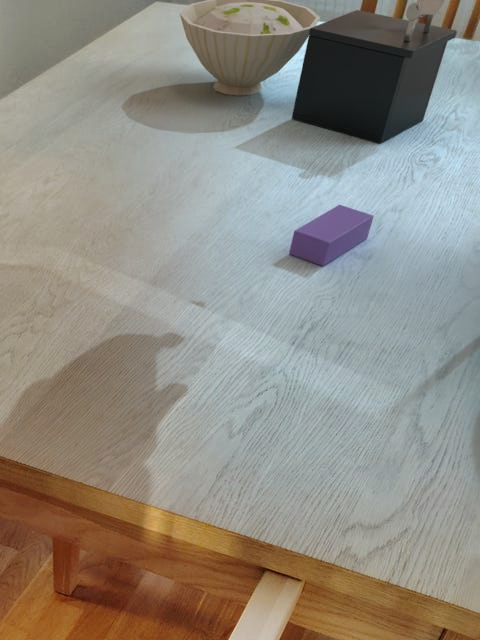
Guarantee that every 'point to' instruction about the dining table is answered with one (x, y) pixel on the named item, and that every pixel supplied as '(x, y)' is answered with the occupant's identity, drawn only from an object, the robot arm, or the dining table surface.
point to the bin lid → (385, 32)
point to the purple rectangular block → (330, 235)
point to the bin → (364, 89)
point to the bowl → (245, 39)
